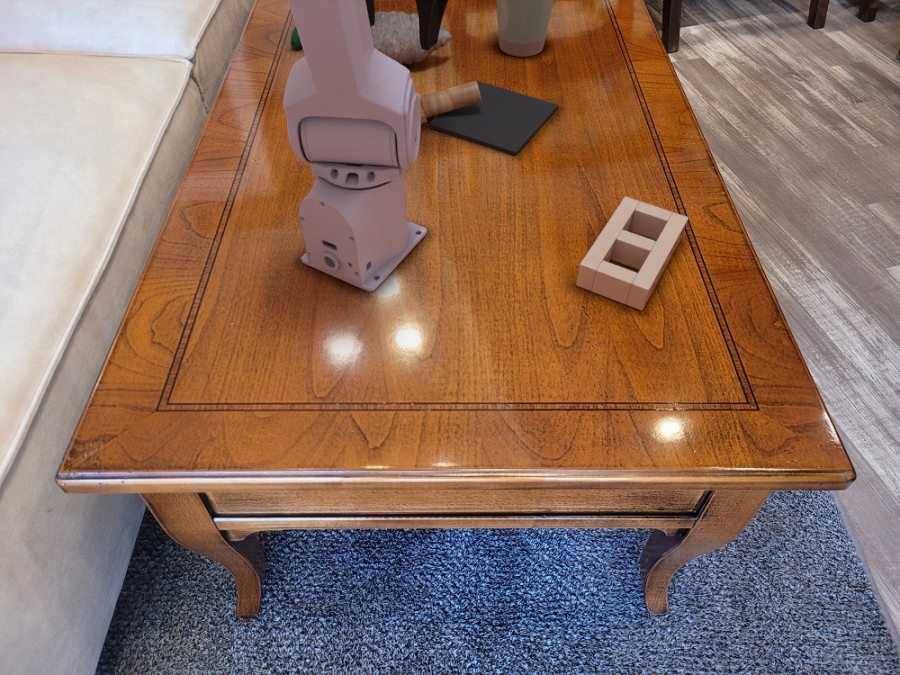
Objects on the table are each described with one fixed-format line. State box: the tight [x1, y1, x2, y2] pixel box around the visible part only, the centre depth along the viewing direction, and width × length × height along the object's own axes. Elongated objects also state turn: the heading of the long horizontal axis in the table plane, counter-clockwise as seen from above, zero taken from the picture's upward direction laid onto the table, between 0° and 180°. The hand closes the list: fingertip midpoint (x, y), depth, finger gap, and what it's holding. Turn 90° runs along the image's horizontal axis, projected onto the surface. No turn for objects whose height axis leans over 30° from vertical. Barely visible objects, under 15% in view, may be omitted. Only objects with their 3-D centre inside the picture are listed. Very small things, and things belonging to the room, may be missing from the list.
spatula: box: [417, 80, 481, 125], centre depth 77 cm, size 5×2×10 cm
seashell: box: [370, 10, 452, 65], centre depth 84 cm, size 6×14×8 cm, turn 99°
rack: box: [575, 196, 689, 311], centre depth 61 cm, size 6×11×3 cm, turn 150°
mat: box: [428, 80, 559, 156], centre depth 78 cm, size 11×11×1 cm
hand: (397, 36), depth 69 cm, fingers open, 7 cm apart
